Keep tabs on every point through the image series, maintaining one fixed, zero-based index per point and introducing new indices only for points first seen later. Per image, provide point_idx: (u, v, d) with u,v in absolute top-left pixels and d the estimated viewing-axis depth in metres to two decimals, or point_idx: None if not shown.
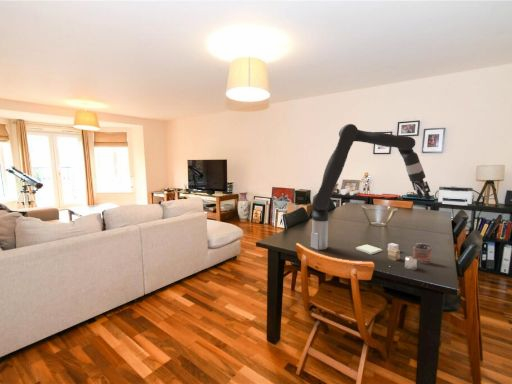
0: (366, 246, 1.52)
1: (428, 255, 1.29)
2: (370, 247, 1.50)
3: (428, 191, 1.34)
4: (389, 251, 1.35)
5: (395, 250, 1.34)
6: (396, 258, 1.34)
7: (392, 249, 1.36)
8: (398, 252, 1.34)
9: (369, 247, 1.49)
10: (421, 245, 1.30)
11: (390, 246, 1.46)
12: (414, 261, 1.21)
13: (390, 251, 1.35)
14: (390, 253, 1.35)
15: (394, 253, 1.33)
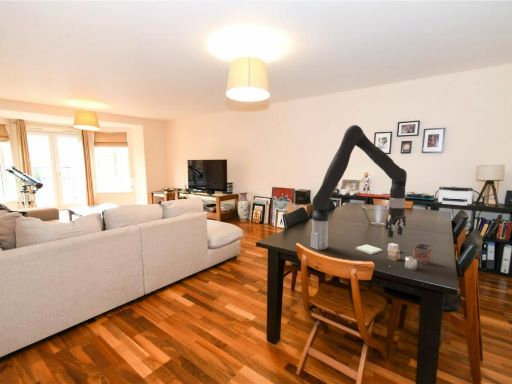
0: (366, 246, 1.52)
1: (428, 255, 1.29)
2: (370, 247, 1.50)
3: (388, 228, 1.30)
4: (389, 251, 1.35)
5: (395, 250, 1.34)
6: (396, 258, 1.34)
7: (392, 249, 1.36)
8: (398, 252, 1.34)
9: (369, 247, 1.49)
10: (421, 245, 1.30)
11: (390, 246, 1.46)
12: (414, 261, 1.21)
13: (390, 251, 1.35)
14: (390, 253, 1.35)
15: (394, 253, 1.33)
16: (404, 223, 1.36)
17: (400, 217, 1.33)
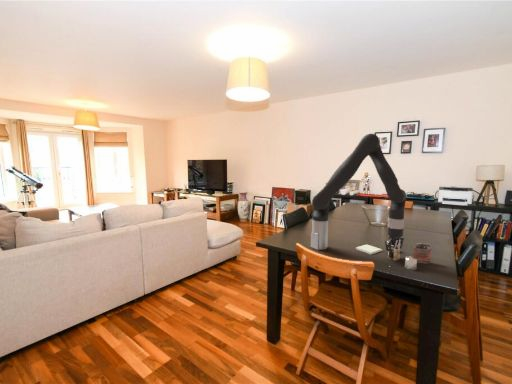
0: (366, 246, 1.52)
1: (428, 255, 1.29)
2: (370, 247, 1.50)
3: (389, 250, 1.32)
4: None
5: (395, 250, 1.34)
6: (396, 258, 1.34)
7: None
8: (398, 252, 1.34)
9: (369, 247, 1.49)
10: (421, 245, 1.30)
11: None
12: (414, 261, 1.21)
13: None
14: None
15: (394, 253, 1.33)
16: (401, 245, 1.36)
17: (399, 237, 1.34)
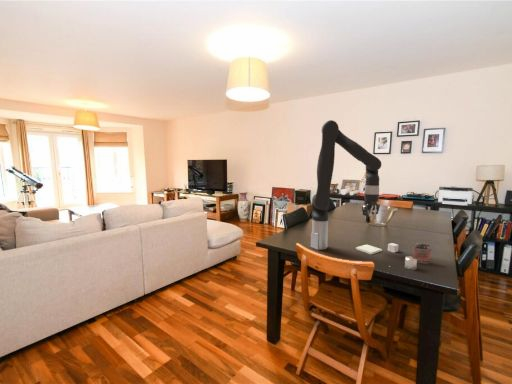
0: (366, 246, 1.52)
1: (428, 255, 1.29)
2: (370, 247, 1.50)
3: (365, 214, 1.43)
4: None
5: (371, 215, 1.45)
6: (372, 222, 1.44)
7: None
8: (374, 217, 1.45)
9: (369, 247, 1.49)
10: (421, 245, 1.30)
11: (390, 246, 1.46)
12: (414, 261, 1.21)
13: None
14: None
15: (370, 217, 1.44)
16: (377, 211, 1.47)
17: (375, 203, 1.45)
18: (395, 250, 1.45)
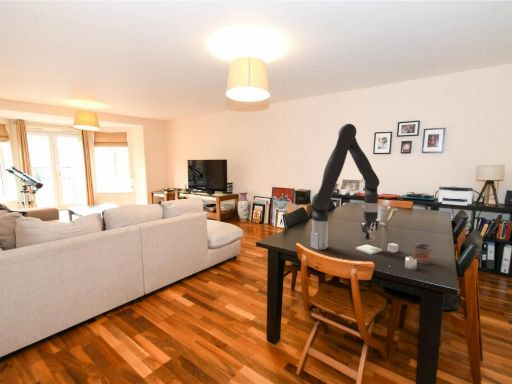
0: (366, 246, 1.52)
1: (428, 255, 1.29)
2: (370, 247, 1.50)
3: (364, 232, 1.44)
4: None
5: (371, 232, 1.46)
6: (372, 239, 1.46)
7: None
8: (373, 234, 1.46)
9: (369, 247, 1.49)
10: (421, 245, 1.30)
11: (390, 246, 1.46)
12: (414, 261, 1.21)
13: None
14: None
15: (370, 234, 1.45)
16: (376, 227, 1.48)
17: (374, 220, 1.47)
18: (395, 250, 1.45)
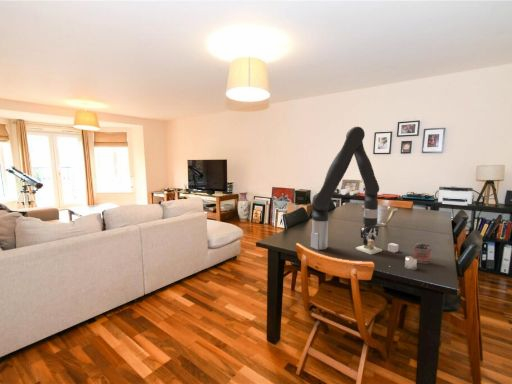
0: None
1: (428, 255, 1.29)
2: None
3: (363, 237, 1.44)
4: None
5: (370, 240, 1.47)
6: (371, 247, 1.46)
7: (368, 239, 1.49)
8: (373, 242, 1.47)
9: None
10: (421, 245, 1.30)
11: (390, 246, 1.46)
12: (414, 261, 1.21)
13: None
14: None
15: (369, 243, 1.46)
16: (377, 232, 1.49)
17: (373, 226, 1.47)
18: (395, 250, 1.45)
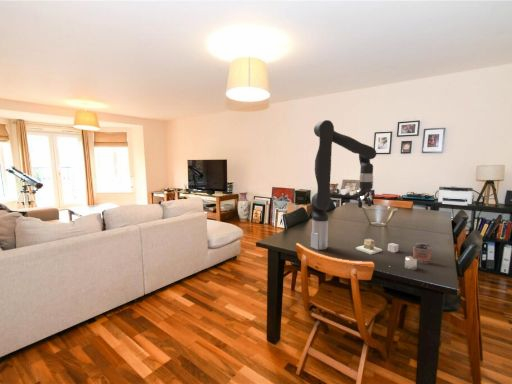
0: None
1: (428, 255, 1.29)
2: None
3: (357, 199, 1.51)
4: (365, 241, 1.48)
5: (370, 240, 1.47)
6: (371, 247, 1.46)
7: (368, 239, 1.49)
8: (373, 242, 1.47)
9: None
10: (421, 245, 1.30)
11: (390, 246, 1.46)
12: (414, 261, 1.21)
13: (365, 241, 1.48)
14: (365, 243, 1.48)
15: (369, 243, 1.46)
16: (373, 196, 1.56)
17: (369, 190, 1.54)
18: (395, 250, 1.45)
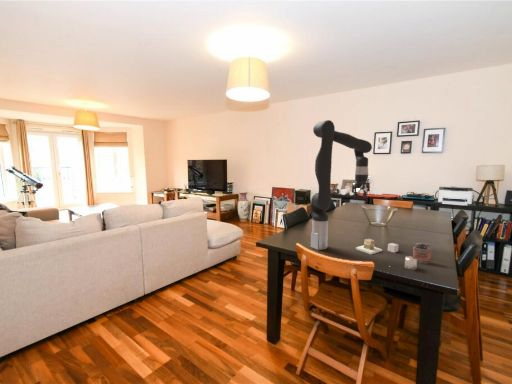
0: None
1: (428, 255, 1.29)
2: None
3: (353, 191, 1.57)
4: (365, 241, 1.48)
5: (370, 240, 1.47)
6: (371, 247, 1.46)
7: (368, 239, 1.49)
8: (373, 242, 1.47)
9: None
10: (421, 245, 1.30)
11: (390, 246, 1.46)
12: (414, 261, 1.21)
13: (365, 241, 1.48)
14: (365, 243, 1.48)
15: (369, 243, 1.46)
16: (368, 188, 1.63)
17: (364, 183, 1.60)
18: (395, 250, 1.45)
